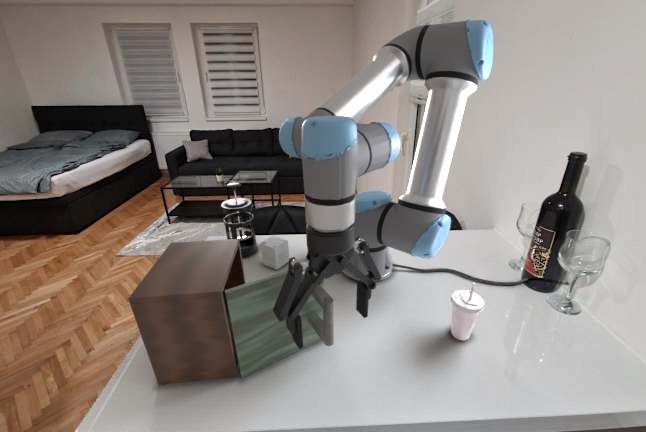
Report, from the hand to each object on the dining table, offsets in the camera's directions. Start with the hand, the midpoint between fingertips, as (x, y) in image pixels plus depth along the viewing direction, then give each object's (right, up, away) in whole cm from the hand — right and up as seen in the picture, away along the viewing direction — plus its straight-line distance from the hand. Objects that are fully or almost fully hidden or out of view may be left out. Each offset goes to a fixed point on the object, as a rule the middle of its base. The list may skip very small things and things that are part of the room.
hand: (331, 327), depth 55 cm
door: (-8, -9, +3) cm, 12 cm away
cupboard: (-26, -7, +9) cm, 28 cm away
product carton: (-18, +6, +38) cm, 42 cm away
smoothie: (+28, -6, +12) cm, 31 cm away
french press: (-30, +9, +45) cm, 54 cm away
